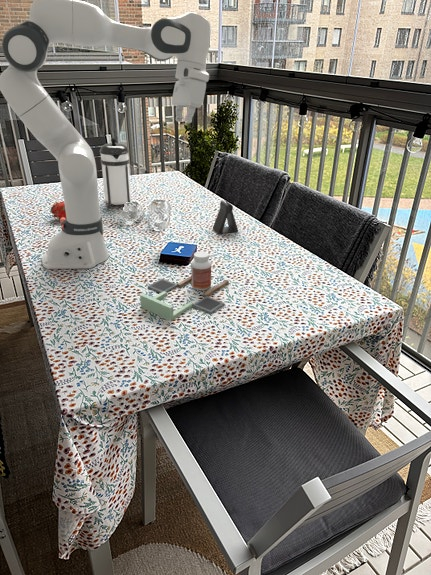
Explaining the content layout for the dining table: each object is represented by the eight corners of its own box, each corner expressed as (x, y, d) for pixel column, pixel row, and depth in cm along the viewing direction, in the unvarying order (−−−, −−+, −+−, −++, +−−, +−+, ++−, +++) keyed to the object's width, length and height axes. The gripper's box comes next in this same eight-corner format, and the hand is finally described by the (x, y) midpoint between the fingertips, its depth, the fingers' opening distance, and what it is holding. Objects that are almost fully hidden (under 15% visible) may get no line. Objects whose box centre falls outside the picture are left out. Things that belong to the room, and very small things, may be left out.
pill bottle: (214, 288, 140) (215, 255, 135) (197, 292, 137) (198, 260, 132) (204, 280, 145) (204, 248, 139) (187, 284, 142) (187, 252, 136)
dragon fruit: (49, 223, 190) (78, 224, 195) (51, 217, 182) (81, 218, 187) (48, 204, 191) (77, 205, 196) (50, 197, 183) (80, 199, 188)
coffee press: (142, 202, 213) (139, 137, 199) (119, 211, 201) (113, 142, 187) (115, 196, 221) (110, 132, 207) (91, 204, 209) (84, 137, 195)
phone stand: (218, 234, 180) (218, 205, 174) (212, 229, 185) (213, 201, 179) (238, 231, 183) (239, 203, 177) (232, 226, 188) (233, 199, 182)
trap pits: (162, 280, 144) (161, 278, 143) (224, 304, 131) (224, 302, 131) (147, 287, 139) (147, 285, 139) (210, 314, 126) (210, 312, 126)
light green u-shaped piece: (164, 293, 136) (163, 282, 134) (193, 306, 130) (193, 294, 128) (140, 307, 129) (140, 295, 127) (170, 320, 123) (170, 308, 121)
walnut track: (200, 273, 149) (200, 270, 148) (228, 283, 143) (228, 280, 142) (177, 286, 140) (176, 283, 140) (205, 298, 134) (205, 295, 134)
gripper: (170, 74, 144) (164, 119, 149) (191, 70, 127) (183, 121, 131) (189, 78, 147) (182, 122, 151) (211, 75, 129) (203, 125, 134)
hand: (183, 122), depth 141 cm, fingers open, 8 cm apart
